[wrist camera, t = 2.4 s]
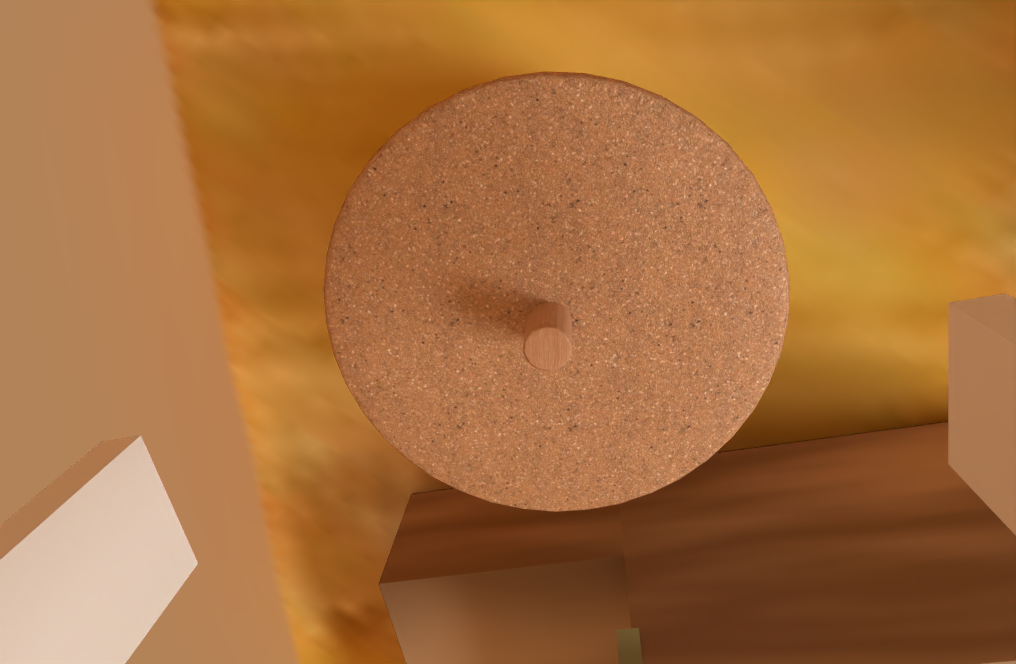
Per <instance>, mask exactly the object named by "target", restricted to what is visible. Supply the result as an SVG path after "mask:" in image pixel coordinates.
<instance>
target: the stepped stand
mask: <svg viewBox="0 0 1016 664" xmlns="http://www.w3.org/2000/svg"><path fill="white" fill-rule="evenodd" d="M379 587H380V590H381V592H382V595H383V598H384V601H385V604H386V607H387V610H388V613H389V615H390V618H391V621H392V624H393V627H394V630H395V633H396V636H397V639H398V641H399V644H400V647H401V650H402V653H403V656H404V659H405V662H406V664H1016V535H1015V534H1014V533H1013V532H1012V531H1011V530H1010V529H1009V528H1008V527H1007V526H1006V525H1005V524H1004V523H1003V522H1002V520H1001V519H1000V518H999V517H998V516H997V515H996V514H995V513H994V512H993V511H992V510H991V509H990V508H989V507H988V506H987V505H986V504H985V502H984V501H983V500H982V499H981V498H980V497H979V496H978V495H977V494H976V493H975V492H974V491H973V490H972V489H971V488H970V487H969V485H968V484H967V483H966V482H965V481H964V480H963V479H962V478H961V477H960V476H959V475H958V474H957V473H956V472H955V471H954V470H953V469H952V467H951V466H950V465H949V464H948V422H943V423H935V424H928V425H920V426H913V427H906V428H898V429H891V430H883V431H876V432H869V433H861V434H854V435H846V436H839V437H832V438H824V439H817V440H810V441H802V442H795V443H787V444H780V445H773V446H765V447H758V448H750V449H743V450H736V451H728V452H721V453H715V454H714V455H713V456H711V457H710V458H709V459H708V460H707V461H705V462H704V463H702V464H701V465H699V466H698V467H697V468H695V469H694V470H692V471H691V472H689V473H688V474H686V475H685V476H683V477H682V478H680V479H679V480H677V481H675V482H672V483H670V484H668V485H666V486H664V487H662V488H660V489H658V490H656V491H654V492H652V493H649V494H646V495H643V496H640V497H637V498H635V499H632V500H629V501H626V502H623V503H620V504H615V505H610V506H604V507H598V508H593V509H586V510H571V511H557V512H555V511H544V510H532V509H523V508H517V507H512V506H507V505H502V504H497V503H492V502H489V501H487V500H484V499H481V498H478V497H476V496H473V495H470V494H468V493H465V492H462V491H460V490H458V489H456V488H455V489H447V490H440V491H433V492H425V493H418V494H411V496H410V499H409V502H408V504H407V507H406V510H405V513H404V515H403V518H402V521H401V524H400V526H399V529H398V532H397V535H396V537H395V540H394V543H393V546H392V548H391V551H390V554H389V557H388V560H387V562H386V565H385V568H384V571H383V573H382V576H381V579H380V582H379Z"/></svg>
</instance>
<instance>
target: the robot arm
mask: <svg viewBox="0 0 1016 664" xmlns="http://www.w3.org/2000/svg"><path fill="white" fill-rule="evenodd" d="M948 464H949V465H950V466H951V467H952V469H953V470H954V471H955V472H956V473H957V474H958V475H959V476H960V477H961V478H962V479H963V480H964V481H965V482H966V483H967V484H968V485H969V487H970V488H971V489H972V490H973V491H974V492H975V493H976V494H977V495H978V496H979V497H980V498H981V499H982V500H983V501H984V502H985V504H986V505H987V506H988V507H989V508H990V509H991V510H992V511H993V512H994V513H995V514H996V515H997V516H998V517H999V518H1000V519H1001V520H1002V522H1003V523H1004V524H1005V525H1006V526H1007V527H1008V528H1009V529H1010V530H1011V531H1012V532H1013V533H1014V534H1015V535H1016V299H1015V298H1013V297H1011V296H1009V295H1007V294H1000V295H994V296H988V297H981V298H975V299H969V300H963V301H957V302H951V303H949V392H948ZM197 564H198V563H197V560H196V558H195V556H194V554H193V551H192V549H191V547H190V545H189V542H188V540H187V538H186V536H185V533H184V531H183V529H182V527H181V524H180V522H179V520H178V518H177V515H176V513H175V511H174V509H173V506H172V504H171V502H170V500H169V498H168V495H167V493H166V491H165V489H164V486H163V484H162V482H161V480H160V477H159V475H158V473H157V471H156V468H155V466H154V464H153V462H152V459H151V457H150V455H149V453H148V450H147V448H146V446H145V444H144V441H143V439H142V437H141V435H140V436H134V437H127V438H121V439H115V440H109V441H103V442H101V443H99V444H98V445H97V446H96V447H95V448H93V449H92V450H91V451H90V452H88V453H87V454H86V455H85V456H84V457H82V458H81V459H80V460H79V461H78V462H76V463H75V464H74V465H73V466H71V468H69V469H68V470H67V471H65V473H63V474H62V475H61V476H59V477H58V478H57V479H56V480H54V481H53V482H52V483H51V484H50V485H48V486H47V487H46V488H45V489H44V490H42V491H41V492H40V493H39V494H38V495H36V496H35V497H34V498H33V499H31V500H30V501H29V502H28V503H27V504H25V505H24V506H23V507H22V508H21V509H19V510H18V511H17V512H16V513H15V514H13V515H12V516H11V517H10V518H8V519H7V520H6V521H5V522H4V523H3V524H1V525H0V664H125V663H126V662H127V660H128V659H129V657H130V656H131V655H132V653H133V652H134V651H135V649H136V648H137V646H138V645H139V644H140V642H141V641H142V640H143V638H144V637H145V636H146V634H147V633H148V631H149V630H150V629H151V627H152V626H153V624H154V623H155V622H156V620H157V619H158V618H159V616H160V615H161V613H162V612H163V611H164V609H165V608H166V607H167V605H168V604H169V603H170V601H171V600H172V598H173V597H174V596H175V594H176V593H177V591H178V590H179V589H180V587H181V586H182V585H183V583H184V582H185V581H186V579H187V578H188V576H189V575H190V574H191V572H192V571H193V570H194V568H195V567H196V566H197Z"/></svg>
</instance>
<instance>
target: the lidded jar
mask: <svg viewBox="0 0 1016 664" xmlns="http://www.w3.org/2000/svg"><path fill="white" fill-rule="evenodd" d="M324 299H325V313H326V323H327V327H328V332H329V336H330V340H331V344H332V349H333V353H334V356H335V358H336V361H337V363H338V366H339V368H340V370H341V373H342V375H343V378H344V380H345V383H346V385H347V386H348V388H349V390H350V392H351V393H352V395H353V397H354V398H355V400H356V402H357V403H358V405H359V407H360V408H361V410H362V412H363V413H364V414H365V415H366V417H367V418H368V419H369V420H370V421H371V423H372V424H373V425H374V426H375V428H376V429H377V430H378V431H379V432H380V434H381V435H382V436H383V437H384V438H385V439H386V440H387V441H388V442H389V443H390V444H391V445H392V446H394V447H395V448H396V449H397V450H398V451H399V452H400V453H401V454H402V455H403V456H404V457H406V458H407V459H408V460H409V461H411V462H412V463H414V464H415V465H417V466H418V467H420V468H421V469H422V470H424V471H425V472H427V473H428V474H429V475H431V476H432V477H434V478H436V479H438V480H440V481H442V482H444V483H446V484H448V485H450V486H452V487H454V488H456V489H458V490H460V491H462V492H465V493H468V494H470V495H473V496H476V497H478V498H481V499H484V500H487V501H489V502H492V503H497V504H502V505H507V506H512V507H517V508H523V509H532V510H544V511H555V512H557V511H571V510H586V509H593V508H598V507H604V506H610V505H615V504H620V503H623V502H626V501H629V500H632V499H635V498H637V497H640V496H643V495H646V494H649V493H652V492H654V491H656V490H658V489H660V488H662V487H664V486H666V485H668V484H670V483H672V482H675V481H677V480H679V479H680V478H682V477H683V476H685V475H686V474H688V473H689V472H691V471H692V470H694V469H695V468H697V467H698V466H699V465H701V464H702V463H704V462H705V461H707V460H708V459H709V458H710V457H711V456H713V455H714V454H715V453H716V452H717V451H718V450H719V449H720V448H721V447H722V446H723V445H724V444H725V443H727V442H728V441H729V440H730V439H731V438H732V437H733V436H734V435H735V433H736V432H737V431H738V430H739V428H740V427H741V426H742V425H743V423H744V422H745V421H746V419H747V418H748V417H749V416H750V414H751V413H752V412H753V411H754V409H755V407H756V405H757V404H758V402H759V400H760V398H761V397H762V395H763V393H764V391H765V390H766V388H767V386H768V384H769V383H770V381H771V378H772V375H773V373H774V370H775V367H776V364H777V362H778V359H779V356H780V354H781V351H782V348H783V343H784V337H785V332H786V327H787V322H788V316H789V273H788V266H787V260H786V254H785V247H784V242H783V239H782V236H781V233H780V230H779V228H778V225H777V222H776V219H775V216H774V213H773V210H772V207H771V206H770V204H769V202H768V200H767V199H766V197H765V195H764V193H763V191H762V190H761V188H760V186H759V184H758V182H757V181H756V179H755V177H754V175H753V174H752V172H751V171H750V170H749V169H748V168H747V166H746V165H745V164H744V163H743V161H742V160H741V159H740V158H739V157H738V155H737V154H736V153H735V152H734V150H733V149H732V148H731V147H730V146H729V144H728V143H726V142H725V141H724V140H723V139H722V138H721V137H720V136H718V135H717V134H716V133H715V132H714V131H713V130H711V129H710V128H709V127H708V126H707V125H706V124H704V123H703V122H702V121H701V120H700V119H699V118H697V117H696V116H694V115H693V114H691V113H689V112H688V111H686V110H684V109H683V108H681V107H679V106H678V105H676V104H674V103H673V102H671V101H669V100H668V99H666V98H664V97H663V96H661V95H658V94H655V93H653V92H650V91H648V90H645V89H642V88H640V87H637V86H635V85H632V84H630V83H627V82H624V81H621V80H616V79H611V78H606V77H601V76H596V75H591V74H586V73H568V72H538V73H531V74H523V75H516V76H508V77H503V78H499V79H496V80H493V81H490V82H486V83H483V84H480V85H477V86H474V87H470V88H467V89H464V90H462V91H460V92H459V93H457V94H455V95H453V96H451V97H449V98H447V99H445V100H443V101H441V102H439V103H437V104H435V105H433V106H431V107H429V108H427V109H426V110H425V111H423V112H422V113H421V114H419V115H418V116H417V117H415V118H414V119H412V120H411V121H410V122H408V123H407V124H406V125H404V126H403V127H402V128H400V129H399V130H398V131H396V133H395V134H394V135H393V136H392V137H391V138H390V139H389V140H388V141H387V142H386V143H385V144H384V145H383V146H382V147H381V148H380V149H379V150H378V151H377V152H376V153H375V154H374V155H373V157H372V158H371V159H370V160H369V162H368V163H367V165H366V166H365V168H364V169H363V171H362V172H361V174H360V175H359V177H358V178H357V179H356V181H355V182H354V184H353V185H352V187H351V188H350V190H349V193H348V195H347V197H346V199H345V202H344V204H343V206H342V208H341V210H340V213H339V215H338V217H337V219H336V222H335V225H334V229H333V233H332V237H331V241H330V244H329V248H328V252H327V258H326V269H325V280H324Z"/></svg>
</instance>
